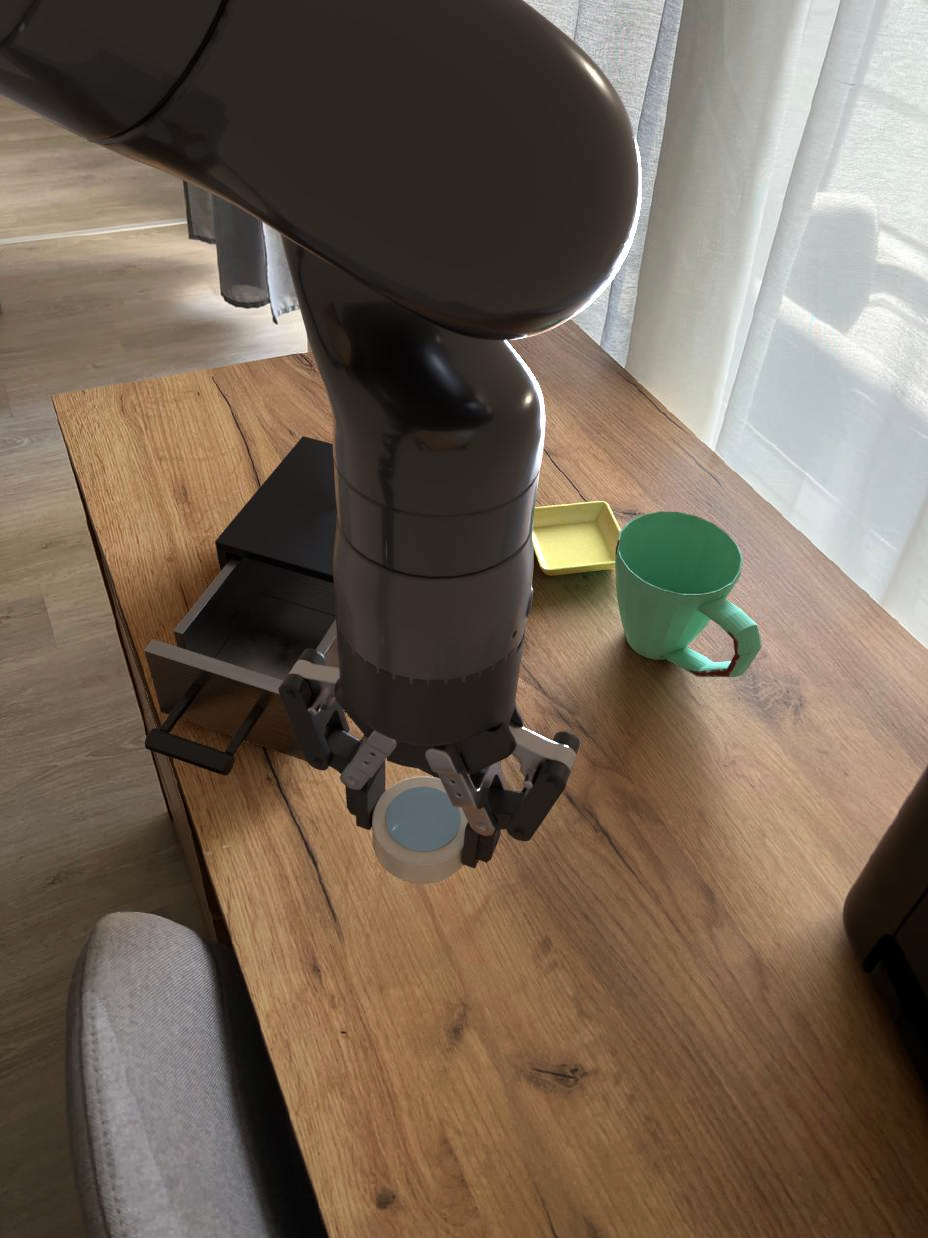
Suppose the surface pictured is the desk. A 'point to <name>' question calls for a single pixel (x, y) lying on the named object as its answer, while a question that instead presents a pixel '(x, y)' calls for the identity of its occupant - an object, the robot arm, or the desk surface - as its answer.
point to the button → (418, 831)
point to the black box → (289, 515)
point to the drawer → (239, 661)
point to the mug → (681, 591)
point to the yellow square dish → (575, 537)
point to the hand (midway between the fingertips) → (423, 832)
